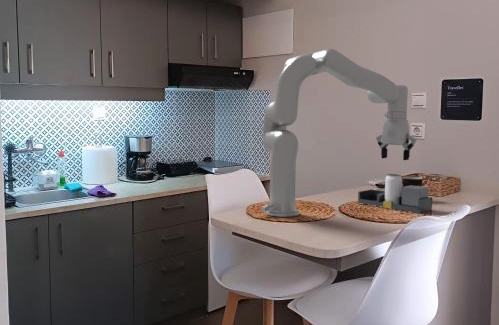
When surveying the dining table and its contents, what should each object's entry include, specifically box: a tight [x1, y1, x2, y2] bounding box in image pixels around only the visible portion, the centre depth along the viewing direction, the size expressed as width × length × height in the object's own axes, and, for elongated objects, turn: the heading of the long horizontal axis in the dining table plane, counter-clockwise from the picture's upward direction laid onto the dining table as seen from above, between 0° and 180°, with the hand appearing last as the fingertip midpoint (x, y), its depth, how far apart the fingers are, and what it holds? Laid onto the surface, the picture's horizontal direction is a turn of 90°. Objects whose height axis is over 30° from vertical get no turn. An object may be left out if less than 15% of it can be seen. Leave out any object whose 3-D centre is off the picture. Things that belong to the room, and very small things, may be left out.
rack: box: [357, 185, 433, 214], centre depth 203 cm, size 10×28×9 cm, turn 44°
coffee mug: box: [401, 176, 424, 187], centre depth 219 cm, size 12×9×10 cm
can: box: [384, 173, 403, 204], centre depth 202 cm, size 6×6×12 cm
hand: (394, 159), depth 201 cm, fingers open, 9 cm apart
